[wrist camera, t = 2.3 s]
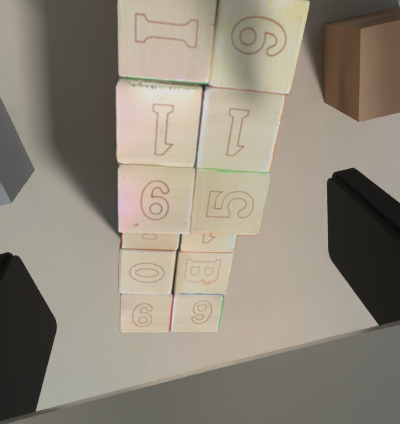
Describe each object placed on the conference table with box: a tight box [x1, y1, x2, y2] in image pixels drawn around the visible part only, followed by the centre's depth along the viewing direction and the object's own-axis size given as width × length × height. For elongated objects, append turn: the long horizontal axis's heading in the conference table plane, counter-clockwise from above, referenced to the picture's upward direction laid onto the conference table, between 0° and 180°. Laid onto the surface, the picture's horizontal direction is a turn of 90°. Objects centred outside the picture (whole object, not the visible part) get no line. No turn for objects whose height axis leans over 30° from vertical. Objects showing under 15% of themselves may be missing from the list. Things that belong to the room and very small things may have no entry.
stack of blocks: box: [115, 0, 310, 332], centre depth 20 cm, size 21×6×12 cm, turn 173°
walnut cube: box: [323, 7, 400, 122], centre depth 22 cm, size 5×5×5 cm
